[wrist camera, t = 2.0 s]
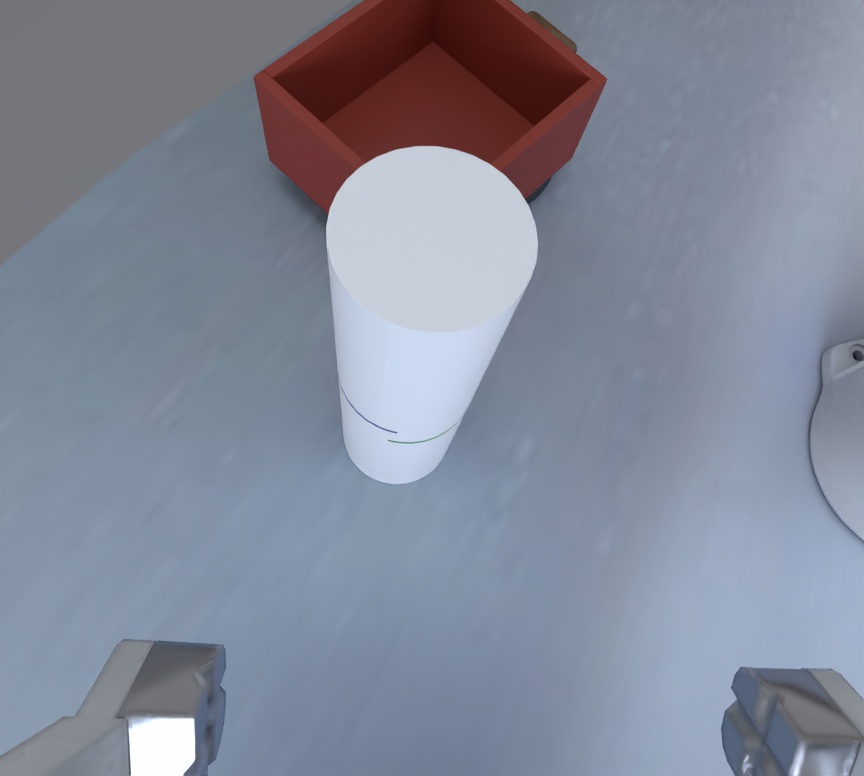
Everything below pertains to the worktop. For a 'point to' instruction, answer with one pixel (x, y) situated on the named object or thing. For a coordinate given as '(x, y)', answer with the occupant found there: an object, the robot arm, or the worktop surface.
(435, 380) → the cylindrical container
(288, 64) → the toy cart
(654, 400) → the worktop surface
